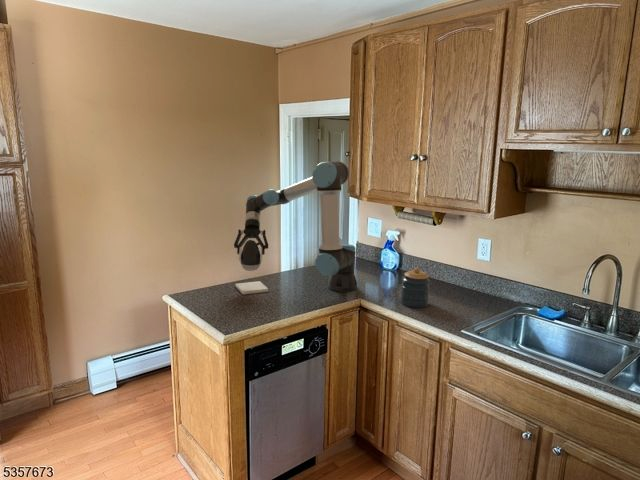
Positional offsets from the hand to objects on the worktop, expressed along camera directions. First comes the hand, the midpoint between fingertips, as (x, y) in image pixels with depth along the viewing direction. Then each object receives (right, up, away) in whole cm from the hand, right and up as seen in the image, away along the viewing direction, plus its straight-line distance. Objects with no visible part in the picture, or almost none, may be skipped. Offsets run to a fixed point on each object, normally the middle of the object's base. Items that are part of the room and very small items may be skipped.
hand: (250, 259), depth 217 cm
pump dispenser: (0, -5, +4) cm, 7 cm away
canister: (+79, -21, -7) cm, 82 cm away
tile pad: (0, -15, +6) cm, 16 cm away
